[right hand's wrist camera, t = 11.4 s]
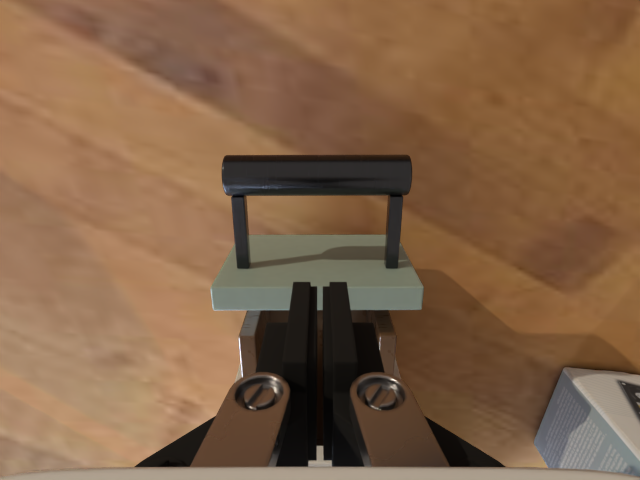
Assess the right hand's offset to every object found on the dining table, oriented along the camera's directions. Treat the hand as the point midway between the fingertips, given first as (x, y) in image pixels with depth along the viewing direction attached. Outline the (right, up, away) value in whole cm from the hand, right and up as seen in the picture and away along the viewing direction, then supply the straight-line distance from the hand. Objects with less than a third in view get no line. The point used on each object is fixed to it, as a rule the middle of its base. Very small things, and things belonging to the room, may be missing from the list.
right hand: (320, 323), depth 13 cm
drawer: (0, -2, +13) cm, 13 cm away
